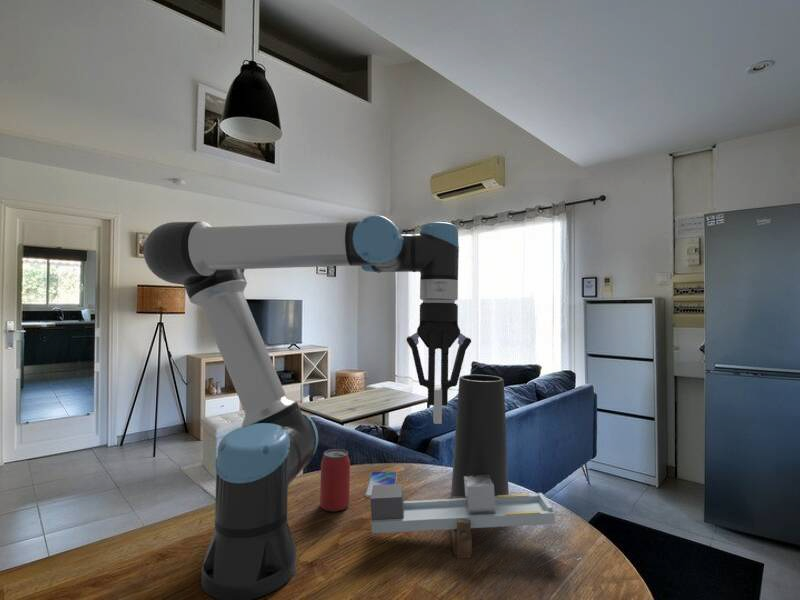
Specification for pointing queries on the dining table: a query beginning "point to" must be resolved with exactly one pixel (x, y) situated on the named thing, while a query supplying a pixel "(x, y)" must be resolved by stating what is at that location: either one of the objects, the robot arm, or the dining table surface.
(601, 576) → the dining table surface
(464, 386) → the vase
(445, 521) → the beam
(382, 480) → the smartphone
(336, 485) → the beer can
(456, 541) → the fulcrum
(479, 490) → the block
